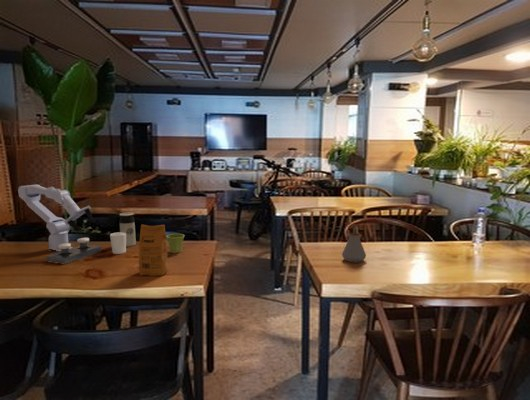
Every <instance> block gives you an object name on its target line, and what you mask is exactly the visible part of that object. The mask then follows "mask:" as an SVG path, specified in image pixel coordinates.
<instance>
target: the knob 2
mask: <svg viewBox="0 0 530 400" xmlns="http://www.w3.org/2000/svg"><path fill="white" fill-rule="evenodd" d="M89 242H90V238H89V237H80V238H78V239H77V243H78V244H79V246H80V249H87V248H88V246H87V245H88V243H89Z"/></svg>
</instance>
